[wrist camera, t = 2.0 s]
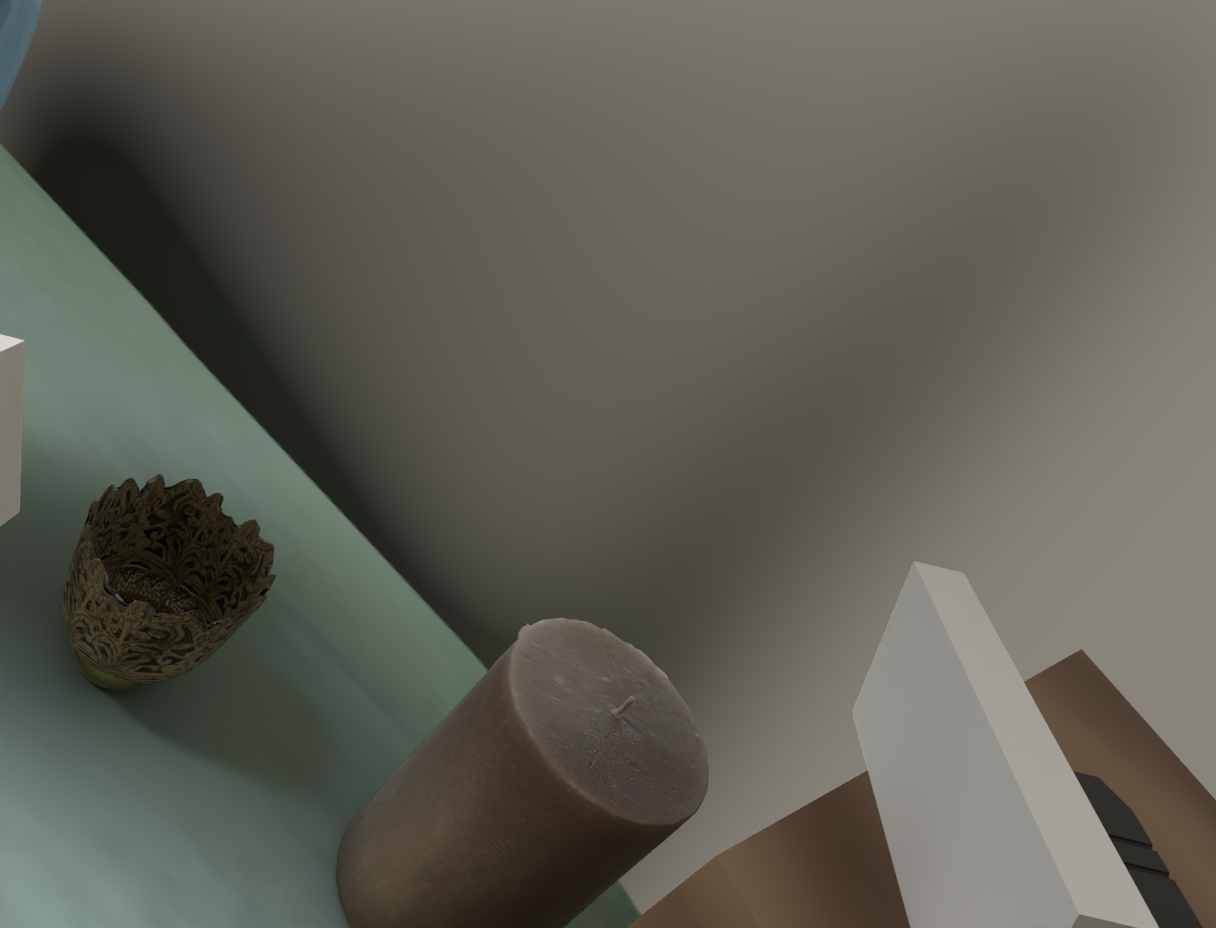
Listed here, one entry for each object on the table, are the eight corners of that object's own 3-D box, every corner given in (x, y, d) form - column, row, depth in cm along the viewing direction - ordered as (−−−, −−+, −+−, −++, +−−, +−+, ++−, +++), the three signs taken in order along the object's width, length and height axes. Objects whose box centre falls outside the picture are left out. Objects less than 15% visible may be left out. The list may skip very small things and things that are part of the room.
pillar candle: (476, 1051, 42) (712, 863, 36) (289, 901, 42) (493, 683, 35) (548, 878, 51) (748, 702, 44) (394, 753, 51) (573, 557, 44)
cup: (232, 675, 48) (312, 566, 44) (115, 770, 41) (197, 651, 38) (111, 568, 48) (181, 450, 44) (-25, 646, 41) (44, 514, 38)
